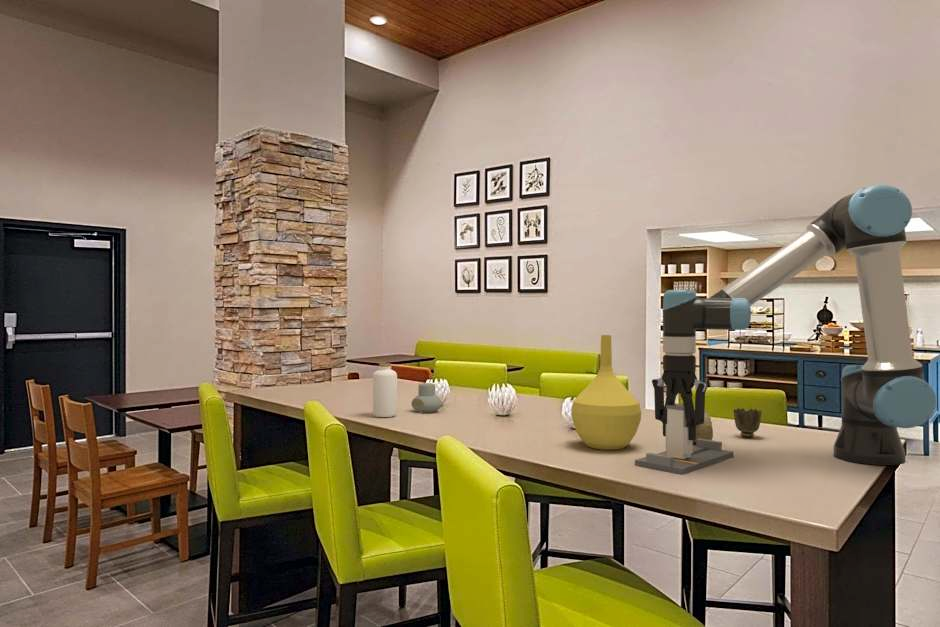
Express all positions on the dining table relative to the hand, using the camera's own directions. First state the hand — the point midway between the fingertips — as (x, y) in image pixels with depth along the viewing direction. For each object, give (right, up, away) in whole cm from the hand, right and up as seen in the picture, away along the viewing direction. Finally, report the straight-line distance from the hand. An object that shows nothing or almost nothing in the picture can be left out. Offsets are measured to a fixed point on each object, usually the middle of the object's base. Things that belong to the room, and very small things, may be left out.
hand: (679, 451), depth 155 cm
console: (+2, -3, +2) cm, 4 cm away
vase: (-14, -3, +19) cm, 23 cm away
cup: (+30, -3, +31) cm, 43 cm away
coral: (+12, -3, +24) cm, 27 cm away
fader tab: (0, -1, 0) cm, 1 cm away
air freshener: (-65, -2, +77) cm, 101 cm away
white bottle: (-79, -2, +67) cm, 104 cm away
